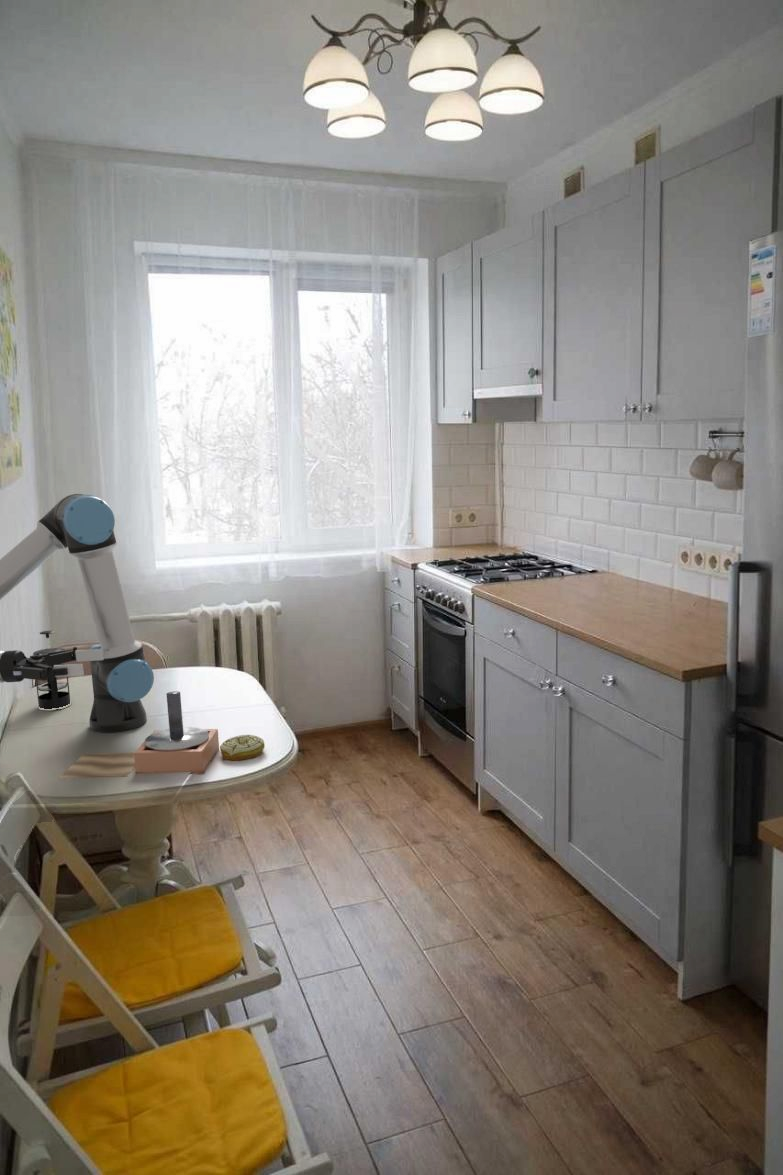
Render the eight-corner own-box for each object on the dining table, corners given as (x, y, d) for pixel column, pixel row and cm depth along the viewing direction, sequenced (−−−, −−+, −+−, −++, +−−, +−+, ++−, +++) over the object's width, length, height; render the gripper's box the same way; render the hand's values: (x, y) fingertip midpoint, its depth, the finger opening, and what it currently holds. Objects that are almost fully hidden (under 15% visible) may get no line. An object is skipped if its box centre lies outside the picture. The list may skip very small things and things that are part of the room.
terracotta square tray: (156, 751, 224) (154, 730, 223) (219, 749, 223) (217, 728, 222) (135, 775, 208) (133, 752, 207) (203, 773, 207) (201, 751, 206)
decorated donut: (214, 753, 221) (213, 739, 221) (254, 744, 227) (253, 729, 226) (230, 765, 213) (229, 750, 212) (271, 755, 218) (270, 740, 218)
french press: (73, 708, 264) (66, 632, 260) (40, 713, 260) (31, 636, 256) (68, 698, 274) (61, 625, 270) (36, 703, 270) (28, 629, 266)
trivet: (84, 755, 222) (84, 753, 222) (147, 754, 222) (147, 752, 222) (58, 780, 207) (58, 777, 207) (126, 778, 206) (126, 776, 206)
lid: (155, 730, 222) (151, 685, 220) (215, 729, 222) (211, 683, 220) (136, 752, 207) (132, 703, 205) (200, 750, 207) (196, 701, 205)
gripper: (29, 667, 225) (111, 663, 225) (-18, 697, 201) (75, 692, 200) (24, 638, 224) (108, 634, 223) (-22, 665, 200) (71, 660, 199)
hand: (93, 661), depth 212 cm, fingers open, 13 cm apart
